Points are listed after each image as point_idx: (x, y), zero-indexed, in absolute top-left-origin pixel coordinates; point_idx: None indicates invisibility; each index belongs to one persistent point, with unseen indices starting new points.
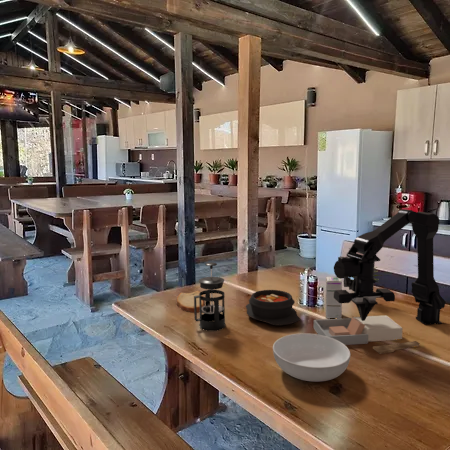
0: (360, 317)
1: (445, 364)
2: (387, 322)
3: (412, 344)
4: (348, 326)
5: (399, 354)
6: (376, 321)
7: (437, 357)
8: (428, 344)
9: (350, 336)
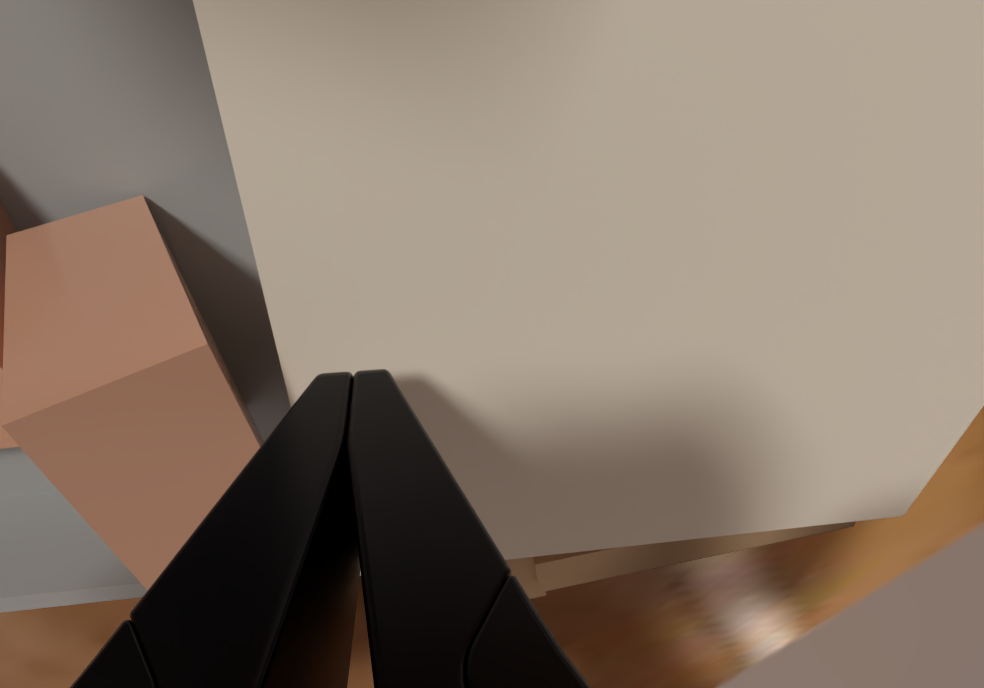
0: (292, 410)
1: (756, 663)
2: (893, 340)
3: (771, 540)
4: (11, 292)
5: (557, 603)
6: (725, 282)
7: (792, 613)
8: (944, 470)
9: (61, 594)
